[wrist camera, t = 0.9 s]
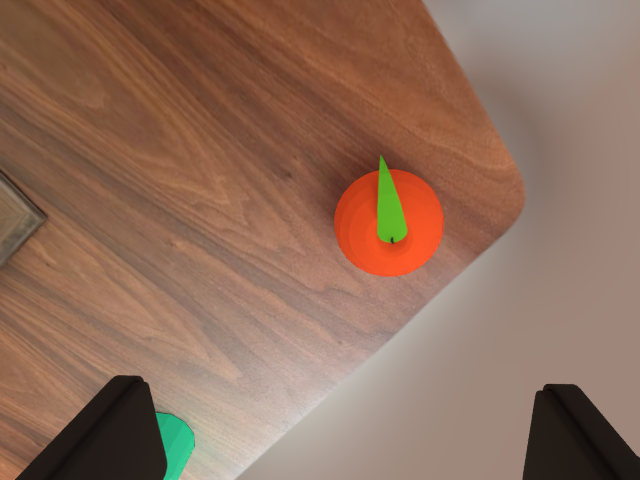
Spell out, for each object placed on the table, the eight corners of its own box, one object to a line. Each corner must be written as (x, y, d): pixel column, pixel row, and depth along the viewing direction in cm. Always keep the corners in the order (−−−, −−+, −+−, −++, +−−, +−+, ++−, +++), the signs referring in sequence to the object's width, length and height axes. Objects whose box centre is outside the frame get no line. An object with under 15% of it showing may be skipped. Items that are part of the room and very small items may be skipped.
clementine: (327, 157, 26) (316, 168, 19) (426, 139, 25) (452, 145, 18) (344, 260, 28) (340, 303, 21) (435, 248, 27) (461, 290, 20)
